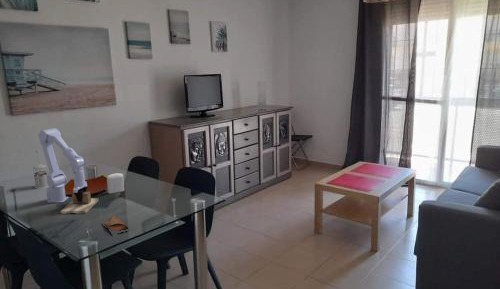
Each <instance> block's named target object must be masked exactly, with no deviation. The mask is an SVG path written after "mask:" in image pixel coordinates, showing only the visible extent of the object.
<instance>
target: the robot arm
mask: <svg viewBox="0 0 500 289" xmlns="http://www.w3.org/2000/svg"><path fill="white" fill-rule="evenodd" d="M38 140H39V143H40V145H41V148H42V152H43V155H44V158H45V161H46V164H47V165H46V166H47V168H48V171H49V172H48V173H47V176H46V178H47V185H48V186H49V187H47V188H46V197H47V203H50V204H51V203H54V204H55V203H65V201H66V200H68V199H69V196H66V190H65V189H66V188H65V186H66V183H67V182H68V179H67V176H66V174H65V172H64V171H63V170H61V169H60V168H59V164H58V161H57V158H56V154H55V151H54V147H53V143H54V144H56V146H58V148H60V149H61V151H62V155H63V156H64V157H65V158H66V159H67V160H68V162H69V166H70V168H71V171H72V175H73V176H72V177H73V182H74V186H73V189H72V194H73V193H74V194H75V196H76V198H77V200H78V202H82V195H83V192H88V191H87V190H88V188H89V186H88V183H87V182H88V181H86V177H85V169H84V167H85V166H86V160H85V158H84V157H83V156H80V155H79V154H78V153H77V152H76V151H75V150H74V149H73V148H72V147H69V146H68V145H67V143H66V142H65V140H64V139H63V138H62V134H61V131H60V130H59V129H58V128H57V127H53V128H48V129H44V130H43V129H42V130H40V131H39V133H38Z"/></svg>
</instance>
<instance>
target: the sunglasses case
mask: <svg viewBox="0 0 500 289" xmlns="http://www.w3.org/2000/svg"><path fill="white" fill-rule="evenodd" d="M102 223H103V224H104V225H105V226H106V227H107V228H108V229H110V230H111V231H121V230H126V229H128V230H129V227H128V226H127V225H126V224H125V223H124V222H123V221H122V220H121V219H120V218H119V217H117V216H116V215H115V214H113V215H112V216H111V217H109V218H108V219H107V220H105V221H104V222H102ZM106 227H105V228H106Z"/></svg>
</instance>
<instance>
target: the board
mask: <svg viewBox="0 0 500 289" xmlns="http://www.w3.org/2000/svg"><path fill="white" fill-rule="evenodd" d="M98 202H99V197H98V198H97V197H95V198H93V197H92V198H91V202H90V203H89V204H73V201H72V200H71V201H70V202H69V203H68V204H66V206H65V207H63V208H62V209H61V210H59V211H60V214H65V215H66V214H67V213H68V214H69V215H71V214H70V213H76V214H87V213H88V212H89V211H90V210H91V209H92V208H93V207H94V206H95V205H96V204H97V203H98Z"/></svg>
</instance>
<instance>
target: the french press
mask: <svg viewBox="0 0 500 289" xmlns="http://www.w3.org/2000/svg"><path fill="white" fill-rule="evenodd" d="M35 153H37V154H39V153H40V151H39V150H36V151H35ZM37 159H38V161H40V158H39V156H37ZM45 168H47V165H45V164H41V163H38V164H36V165H34V166H32V169H33V170H34V172H33V177H34V184H35V186H34V187H35V188H37V189H36V190H42V189H43V190H44V189H47V188H48V187H49V186H48V185H47V178H46V176H47V175H48V173H47V171H45V170H44V171H43V170H42V169H45ZM38 170H39V171H38ZM35 188H34V189H35Z"/></svg>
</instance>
